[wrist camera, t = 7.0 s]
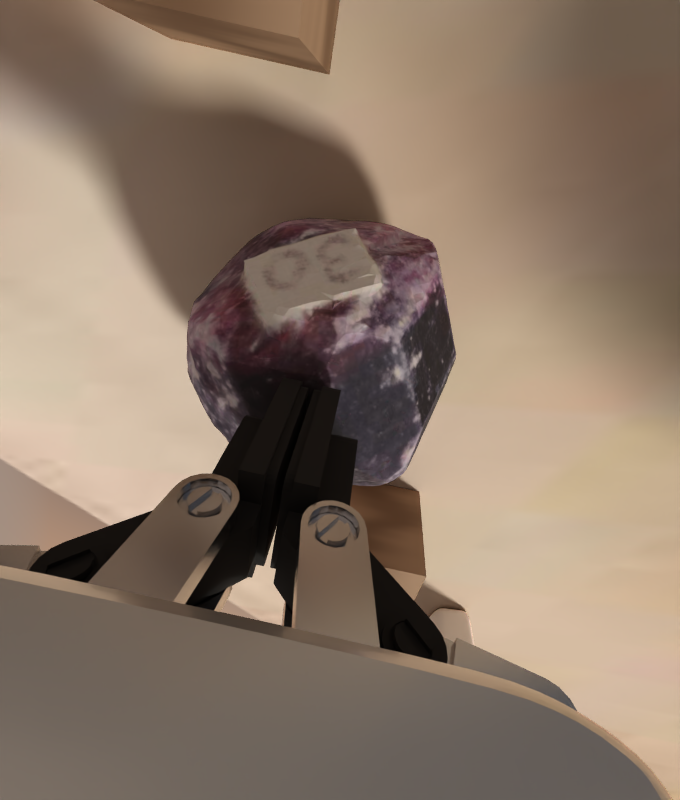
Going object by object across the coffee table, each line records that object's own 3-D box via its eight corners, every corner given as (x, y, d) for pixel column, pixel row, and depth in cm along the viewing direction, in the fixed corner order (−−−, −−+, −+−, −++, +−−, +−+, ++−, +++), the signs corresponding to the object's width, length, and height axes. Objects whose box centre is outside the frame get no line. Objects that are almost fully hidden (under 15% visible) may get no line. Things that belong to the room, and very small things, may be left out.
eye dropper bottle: (493, 622, 31) (542, 850, 21) (445, 652, 34) (469, 867, 24) (447, 599, 30) (474, 825, 20) (402, 631, 33) (406, 845, 23)
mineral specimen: (525, 259, 16) (517, 486, 10) (384, 383, 24) (335, 548, 19) (308, 100, 14) (145, 273, 8) (233, 294, 22) (125, 450, 16)
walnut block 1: (419, 490, 25) (426, 579, 20) (394, 552, 29) (394, 643, 23) (323, 470, 25) (306, 554, 20) (309, 534, 29) (290, 621, 23)
